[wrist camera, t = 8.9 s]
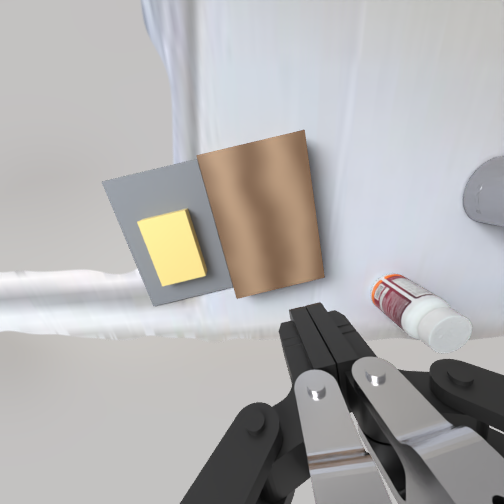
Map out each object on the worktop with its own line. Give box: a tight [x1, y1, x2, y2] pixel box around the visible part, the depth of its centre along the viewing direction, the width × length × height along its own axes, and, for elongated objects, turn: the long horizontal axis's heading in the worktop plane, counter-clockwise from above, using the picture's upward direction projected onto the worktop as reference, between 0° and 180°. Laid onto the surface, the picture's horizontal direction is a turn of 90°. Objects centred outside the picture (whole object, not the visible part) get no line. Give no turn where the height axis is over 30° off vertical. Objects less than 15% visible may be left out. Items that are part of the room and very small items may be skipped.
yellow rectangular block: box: [137, 208, 207, 286], centre depth 31 cm, size 6×9×2 cm, turn 13°
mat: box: [102, 159, 233, 306], centre depth 32 cm, size 12×18×1 cm, turn 13°
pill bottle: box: [371, 273, 472, 353], centre depth 32 cm, size 6×6×11 cm
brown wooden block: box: [197, 130, 325, 299], centre depth 30 cm, size 12×18×4 cm, turn 13°
